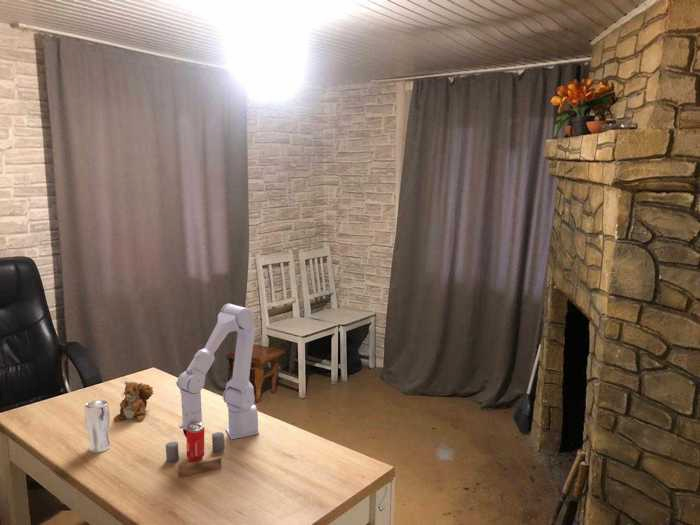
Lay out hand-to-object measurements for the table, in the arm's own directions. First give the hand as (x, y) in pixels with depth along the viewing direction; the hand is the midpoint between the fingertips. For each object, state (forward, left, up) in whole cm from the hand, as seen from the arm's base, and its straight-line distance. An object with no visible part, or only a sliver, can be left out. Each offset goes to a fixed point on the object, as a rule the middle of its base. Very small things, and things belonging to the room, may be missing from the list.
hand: (193, 450), depth 169 cm
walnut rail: (0, +10, -2) cm, 10 cm away
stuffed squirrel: (+14, -37, -2) cm, 40 cm away
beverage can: (0, +3, -1) cm, 3 cm away
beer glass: (+26, -17, -2) cm, 31 cm away
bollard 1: (+6, 0, -2) cm, 7 cm away
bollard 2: (-8, 0, -2) cm, 8 cm away
